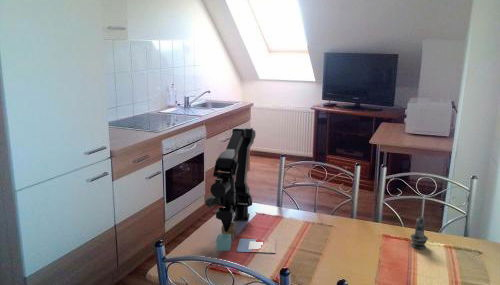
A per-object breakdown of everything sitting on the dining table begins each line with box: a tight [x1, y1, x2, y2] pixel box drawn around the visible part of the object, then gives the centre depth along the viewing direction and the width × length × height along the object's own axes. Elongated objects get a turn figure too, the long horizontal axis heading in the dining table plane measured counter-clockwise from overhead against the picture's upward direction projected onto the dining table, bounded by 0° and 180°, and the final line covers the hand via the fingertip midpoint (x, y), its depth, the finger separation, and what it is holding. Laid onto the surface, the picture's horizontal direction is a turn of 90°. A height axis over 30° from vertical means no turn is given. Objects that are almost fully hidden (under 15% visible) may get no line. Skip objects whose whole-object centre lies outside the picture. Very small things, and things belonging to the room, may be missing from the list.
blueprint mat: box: [236, 238, 263, 253], centre depth 154 cm, size 10×14×1 cm
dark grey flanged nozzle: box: [410, 215, 429, 251], centre depth 151 cm, size 6×6×12 cm
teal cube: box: [216, 233, 232, 252], centre depth 152 cm, size 4×4×4 cm
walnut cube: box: [221, 222, 236, 239], centre depth 162 cm, size 4×4×4 cm
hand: (228, 226), depth 162 cm, fingers open, 9 cm apart
